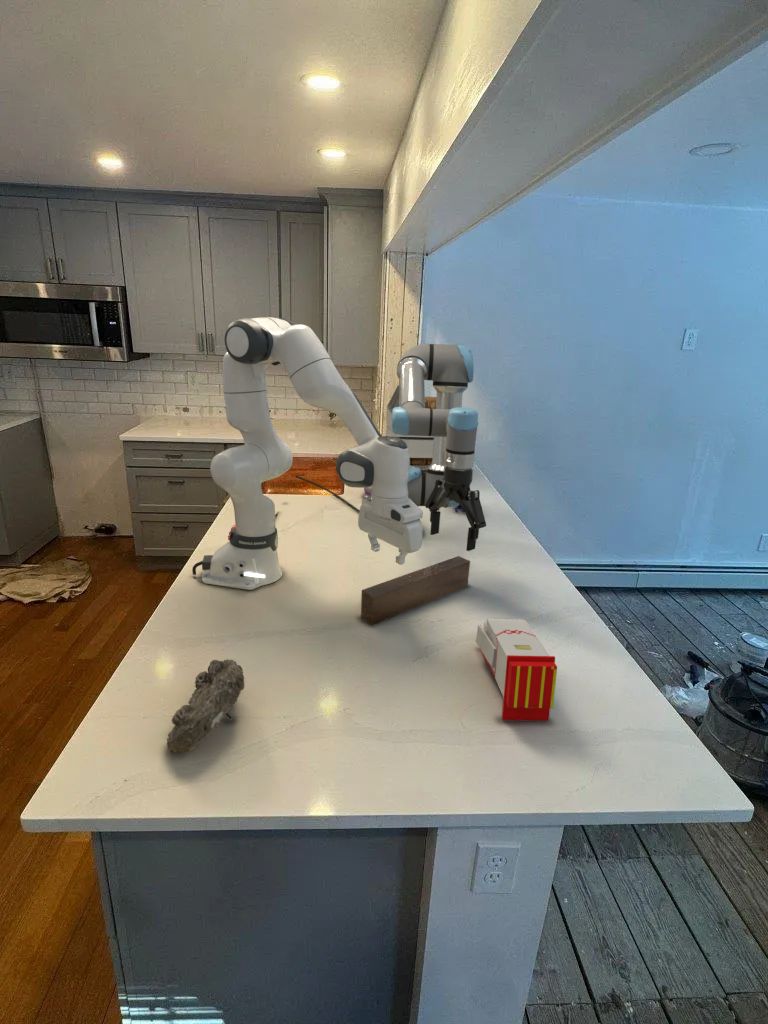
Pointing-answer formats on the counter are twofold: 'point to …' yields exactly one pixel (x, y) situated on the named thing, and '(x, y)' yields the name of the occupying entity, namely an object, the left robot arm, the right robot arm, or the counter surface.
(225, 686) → the fossil
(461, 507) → the figurine character
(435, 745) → the counter surface
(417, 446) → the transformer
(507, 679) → the toy
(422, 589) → the walnut beam
